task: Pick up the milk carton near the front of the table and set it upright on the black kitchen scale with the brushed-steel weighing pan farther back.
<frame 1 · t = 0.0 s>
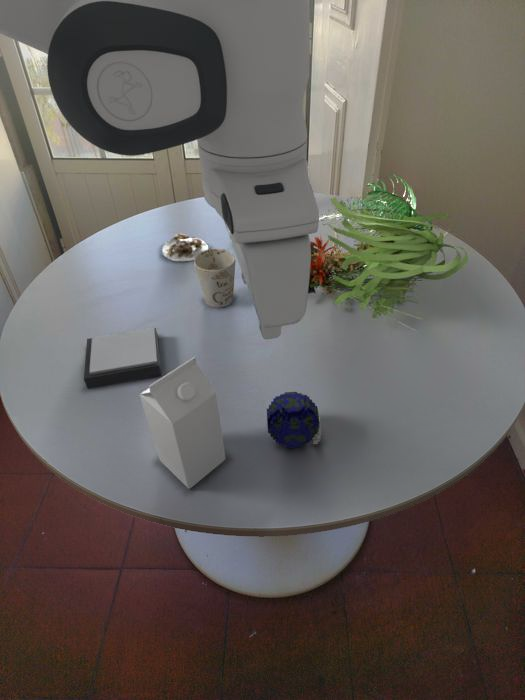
hand: (259, 305, 49), 30 cm above the table, tool pointing down, fingers open, 8 cm apart
mushroom: (237, 217, 130), on the table
scale: (124, 361, 87), on the table
ball: (293, 435, 74), on the table
plate of food scraps: (185, 250, 117), on the table
mug: (217, 294, 103), on the table
milk carton: (192, 461, 71), on the table
plant: (362, 291, 102), on the table
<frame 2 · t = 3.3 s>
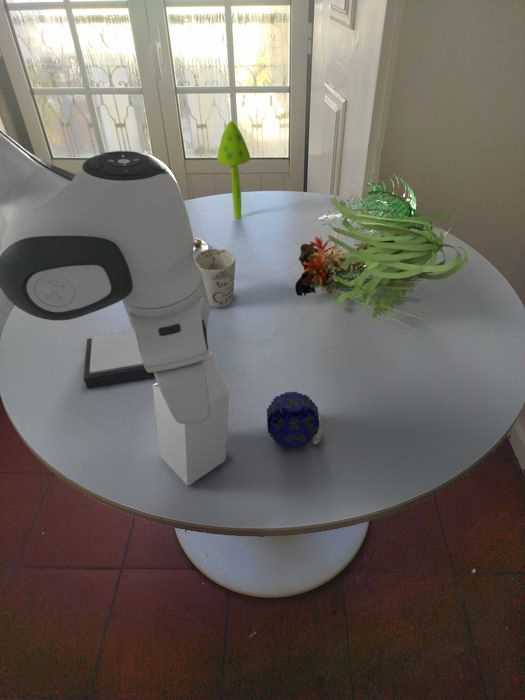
hand: (194, 388, 61), 15 cm above the table, tool pointing down, fingers open, 8 cm apart
milk carton: (192, 459, 71), on the table, touching gripper
everything else where it was.
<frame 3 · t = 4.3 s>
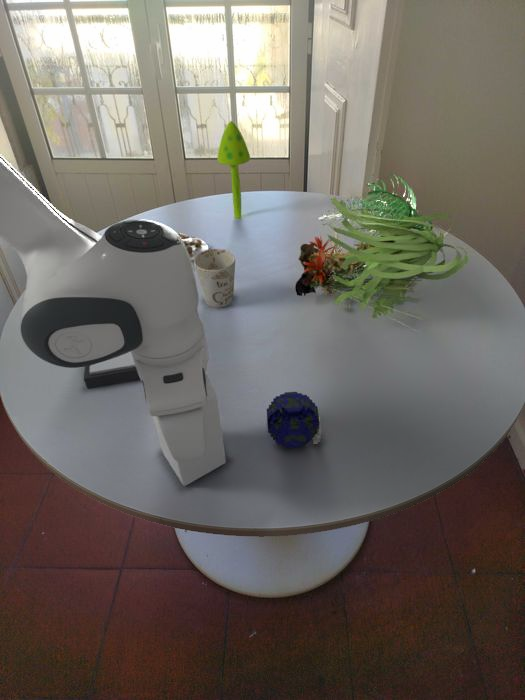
hand: (188, 423, 66), 8 cm above the table, tool pointing down, fingers closed on milk carton, 8 cm apart
milk carton: (194, 459, 71), on the table, touching gripper
everything else where it was.
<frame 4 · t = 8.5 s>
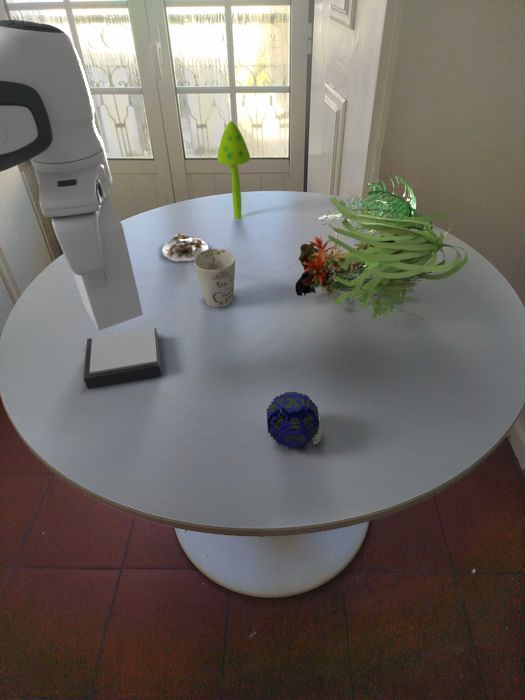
hand: (102, 267, 69), 23 cm above the table, tool pointing down, fingers closed on milk carton, 8 cm apart
milk carton: (114, 313, 74), point 15 cm above the table, touching gripper
everything else where it was.
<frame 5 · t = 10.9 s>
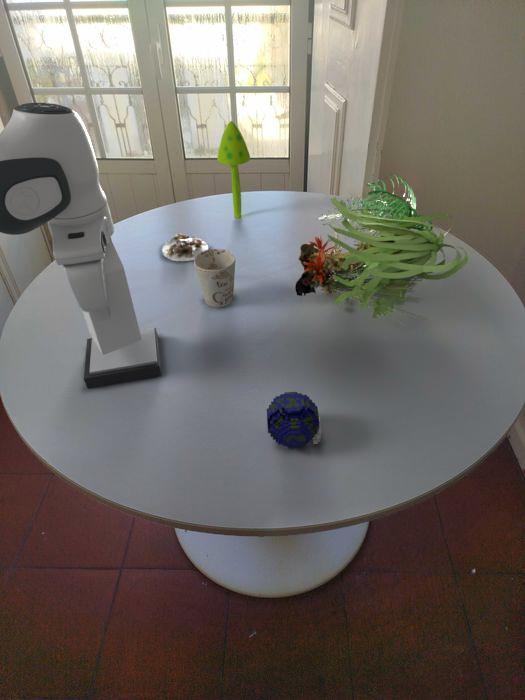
hand: (105, 300, 78), 14 cm above the table, tool pointing down, fingers closed on milk carton, 8 cm apart
milk carton: (116, 338, 83), point 6 cm above the table, touching gripper
everything else where it was.
when the fingers open (11 cm above the table, at t = 12.7 s): milk carton stays where it is, resting on scale.
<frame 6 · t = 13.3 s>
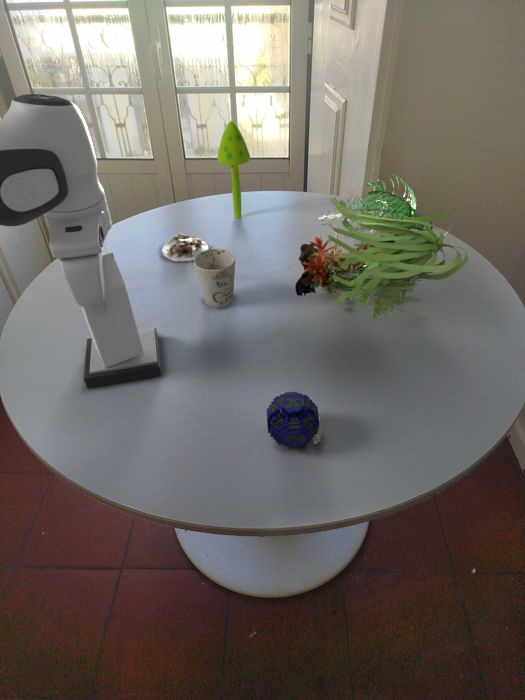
hand: (101, 296, 77), 15 cm above the table, tool pointing down, fingers open, 8 cm apart
milk carton: (119, 351, 85), point 3 cm above the table, touching gripper, scale
everything else where it was.
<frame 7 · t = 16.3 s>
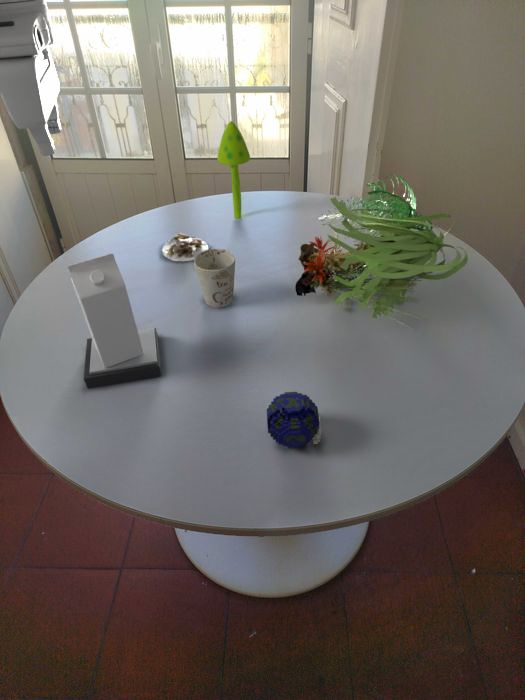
hand: (52, 142, 68), 37 cm above the table, tool pointing down, fingers open, 8 cm apart
milk carton: (119, 351, 85), point 3 cm above the table, touching scale
everything else where it was.
at the end: milk carton inside the target area on the scale (0.6 cm from its centre), point 2.9 cm above the scale's base; milk carton tilted 0°; the gripper is holding nothing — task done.
